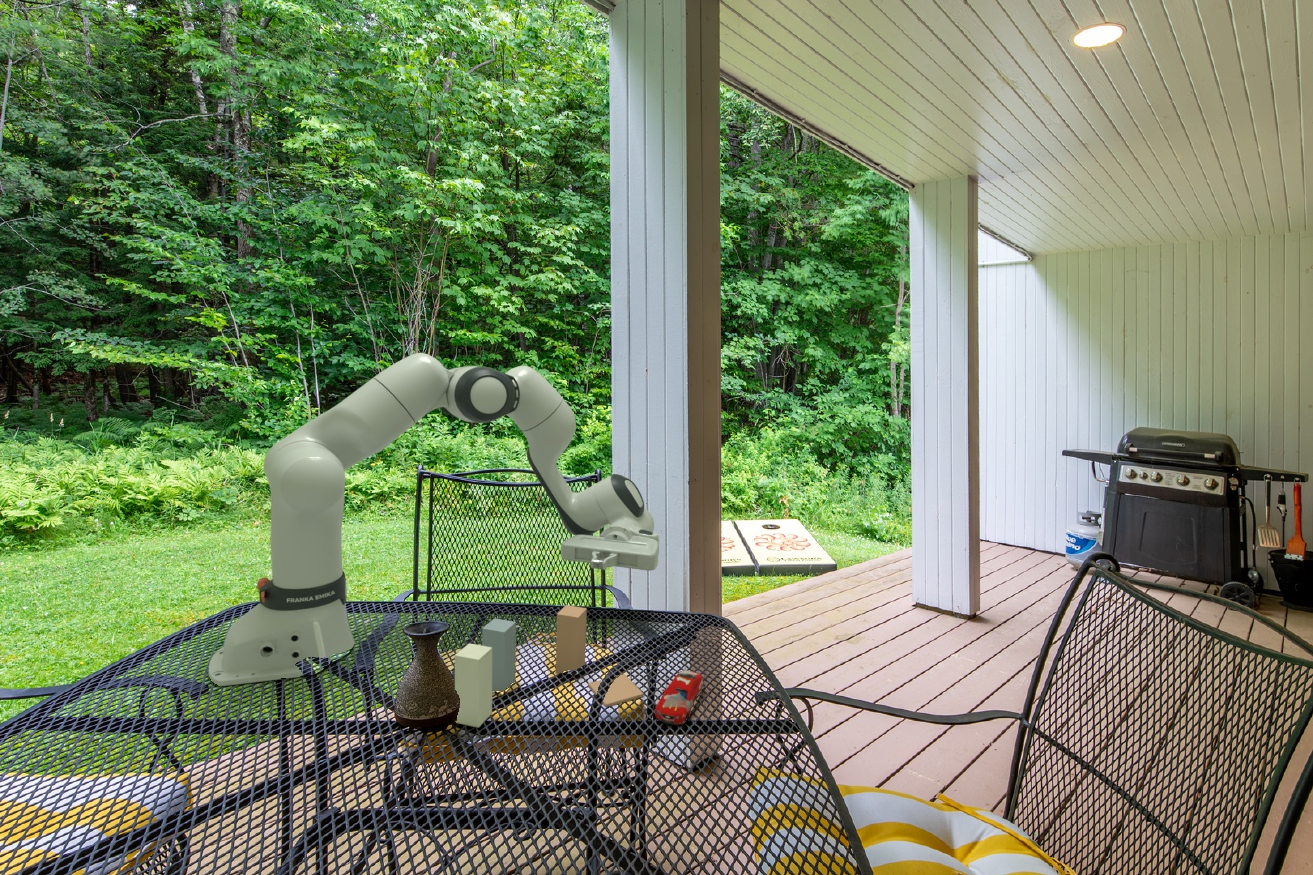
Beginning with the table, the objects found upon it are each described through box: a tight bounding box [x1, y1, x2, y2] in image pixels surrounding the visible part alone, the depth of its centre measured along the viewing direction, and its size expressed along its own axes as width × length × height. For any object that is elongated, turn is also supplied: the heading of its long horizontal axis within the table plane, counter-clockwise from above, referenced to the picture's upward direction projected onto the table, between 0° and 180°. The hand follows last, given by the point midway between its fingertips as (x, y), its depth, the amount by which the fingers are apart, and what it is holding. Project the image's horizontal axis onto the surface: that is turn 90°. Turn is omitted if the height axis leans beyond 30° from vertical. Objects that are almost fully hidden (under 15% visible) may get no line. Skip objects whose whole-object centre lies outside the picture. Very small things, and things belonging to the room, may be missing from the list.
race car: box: [654, 670, 704, 726], centre depth 104 cm, size 13×5×4 cm, turn 158°
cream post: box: [454, 643, 493, 728], centre depth 97 cm, size 4×4×11 cm
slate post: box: [481, 617, 517, 691], centre depth 106 cm, size 4×4×11 cm
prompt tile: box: [587, 673, 645, 708], centre depth 107 cm, size 7×7×1 cm
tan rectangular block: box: [555, 604, 588, 674], centre depth 113 cm, size 4×4×11 cm
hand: (597, 565), depth 123 cm, fingers closed
